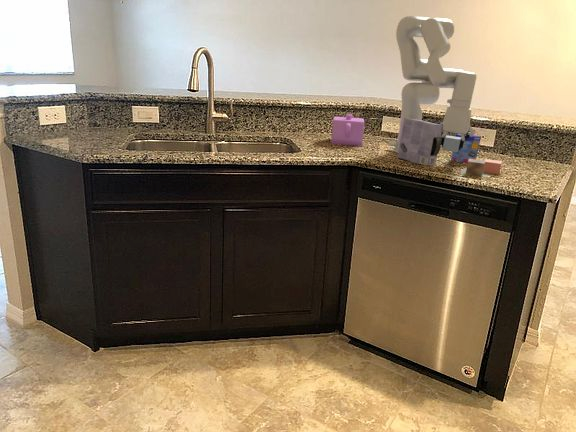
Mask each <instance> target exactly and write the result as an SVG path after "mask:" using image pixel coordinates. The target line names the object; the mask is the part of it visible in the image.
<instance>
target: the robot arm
mask: <svg viewBox="0 0 576 432" xmlns="http://www.w3.org/2000/svg"><path fill="white" fill-rule="evenodd" d="M454 33H455V25H454V23H453V21H452V20H451V19H449V18H441V17H427V16H420V15H419V16H418V15H408V16H404V17H402V18H401V19H400V20H399V22H398V24H397V27H396V31H395V36H396V42H397V46H398V50H399V53H400V54H399V55H400V62H401V63H400V64H401V71H402V76H403V78H404V80H406V81H410V83H406V84H405V85H404V86H403V87H402V89H401V112H400V118H399V119H400V121H399V129H398V135H397V137H398V138H397V141H391V140H390V141H388V142H387V145H388V146H389V147H393V149H392V152H394V153H396V154H398V151H399V146H400V140H401V134H402V129H403V123H404V118H413V119H417V120H422V119H423V111H422V108H421V105H434V104H435V103H437V102H438V100H439V97H440V93H441V91H440V89H453V90H452V96H451V98H450V99H447V101H446V103H447V104H449V105H448V106H447V108H446V110H445V113H444V118H443V121H441V122H440V123H438V124H439V125H443V129H442V134H441V148H443V144H444V139H445V137H446V136H447V135H448V133H453V134H461V141H460V145H459V149H458V150H460V149H461V148H463V144H464V140H466V139H467V138H469V137H470V136H472V135H473V134H475V133H476V131H475V132H474V130H475V129H473V127H472V125H471V119H472V108H471V104H472V99H473V94H474V90H475V86H476V81H477V74H476V72H472V71H465V70H463V69H460V68H459V69H458V68H457V69H456V68H443V66H442V64H441V62H440V59H441V58H443V57H444V56H446V55H447V54H448V53H449V51H450V50H451V43H450V41H449V40H450V39H452V37H453V36H454ZM414 38H423V40H424V43H425V46H426V48H427V50H428V52H429V55H428V57H427V59H424V58H423V59H422V57H421V51H420V48H419V45H418V43H417V42H416V40H415V39H414ZM411 81H412V82H411ZM422 121H423V120H422ZM468 130H469V131H470V132H468ZM467 132H468V133H469V134H467V135H466V136H465V134H466V133H467ZM475 135H476V134H475Z"/></svg>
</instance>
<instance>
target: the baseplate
mask: <svg viewBox="0 0 576 432" xmlns="http://www.w3.org/2000/svg"><path fill="white" fill-rule="evenodd" d="M460 174H461V175H462V174H463V175H469V174H466V169H461V171H460ZM474 176H476V175H474ZM481 177H483V178H488V177H489V172H483V175H482V176H481Z"/></svg>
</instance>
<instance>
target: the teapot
mask: <svg viewBox="0 0 576 432" xmlns="http://www.w3.org/2000/svg"><path fill="white" fill-rule="evenodd" d="M331 129H332V130H331V140H330V144H332V145H342V146H343V145H345V146H346V145H347V146H357V147H358V146H361V147H362V146H363V143H364V142H363V140H364V133H365V132H364V131H365V118H360V117H353V114H351V113H350V114H349V113H348V114H345V116H334V117H333V119H332V127H331Z"/></svg>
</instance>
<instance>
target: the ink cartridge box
mask: <svg viewBox="0 0 576 432" xmlns="http://www.w3.org/2000/svg"><path fill="white" fill-rule="evenodd" d="M473 130H474V132H475V133H476V129H473ZM469 133H470V131H469V129H468V132H467V133H466V134H465V136H466V135H467V134H469ZM454 137H460V138H461V134H458V133H455V136H454ZM481 138H482V136H481V135H478V134H473V135H472V136H470V137H469V138H467V139H466V140H464V144H463V148H461V149H460V150H459V151H458V152H452V151H451V158H450V161H453V162H456V163H467V164H468V160H469V159H476V160H477V157H478V153H479V148H480V144H481V140H482V139H481Z"/></svg>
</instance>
